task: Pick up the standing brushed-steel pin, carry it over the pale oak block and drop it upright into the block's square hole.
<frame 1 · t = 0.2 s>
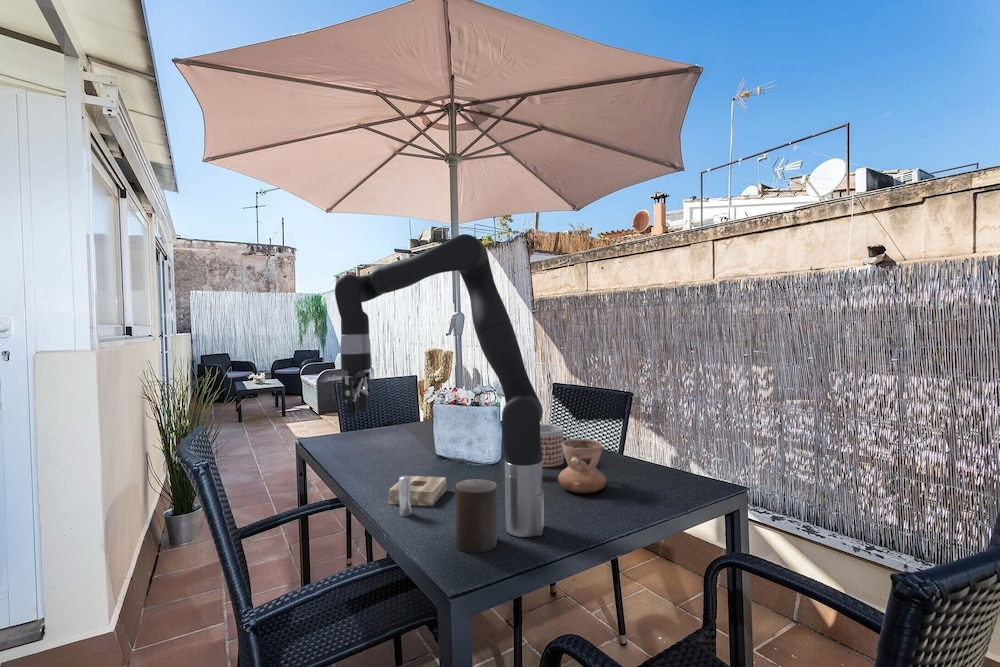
hand: (357, 413, 126), 28 cm above the table, fingers open, 8 cm apart
planter: (544, 463, 176), on the table
steel pin: (405, 514, 129), on the table
oak hole block: (418, 496, 142), on the table
terracotta incense burner: (582, 489, 147), on the table
pillar candle: (476, 544, 111), on the table
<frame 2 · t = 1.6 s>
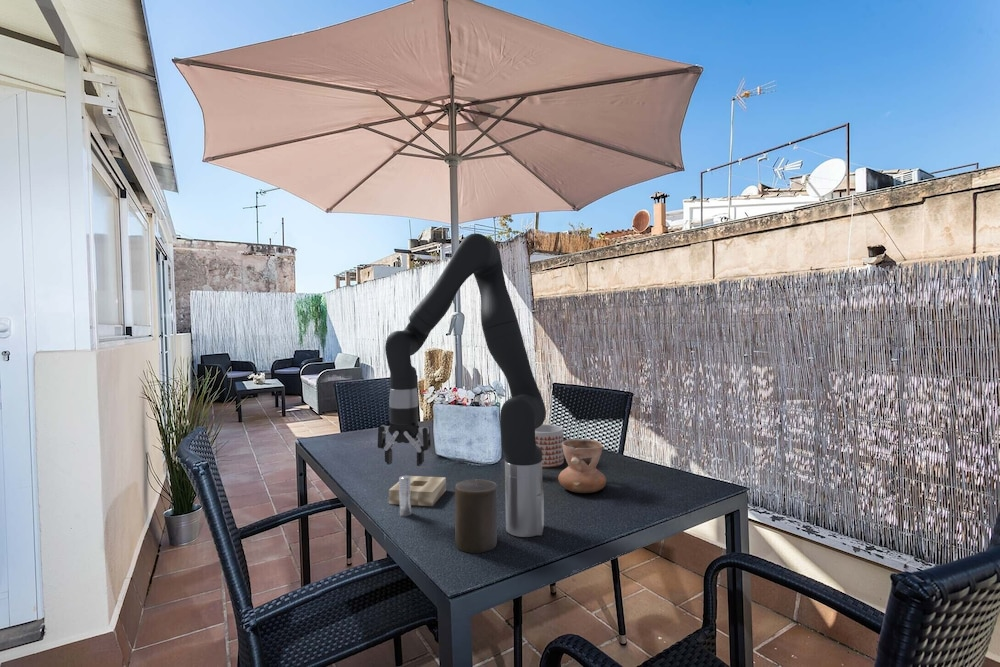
hand: (404, 464, 129), 13 cm above the table, fingers open, 8 cm apart
nothing on the table moved.
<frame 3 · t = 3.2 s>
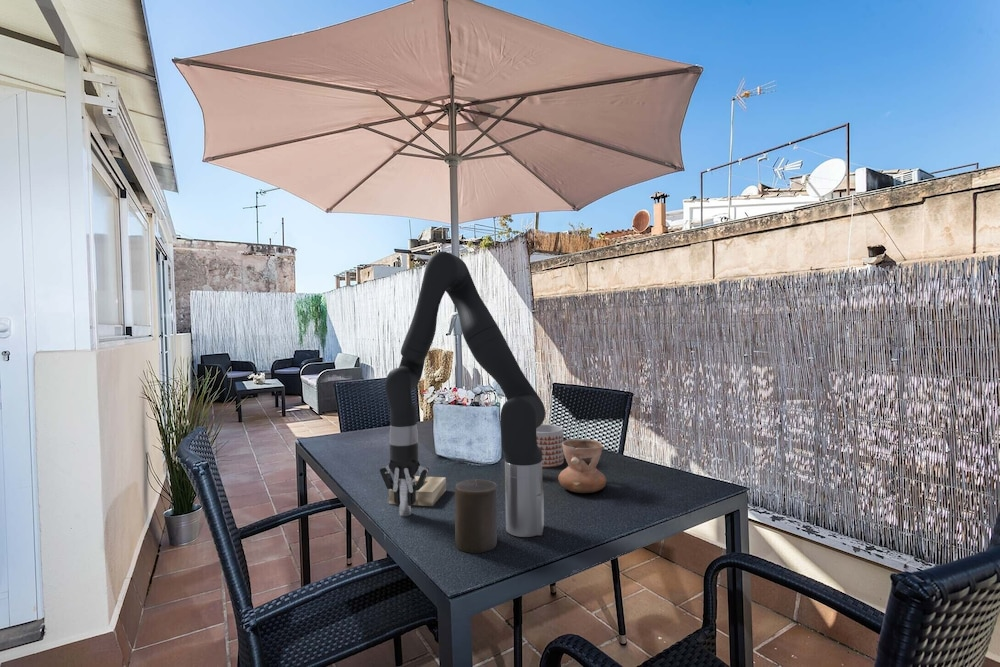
hand: (404, 504, 129), 3 cm above the table, fingers closed on steel pin, 3 cm apart
steel pin: (405, 514, 129), on the table, touching gripper
everything else where it was.
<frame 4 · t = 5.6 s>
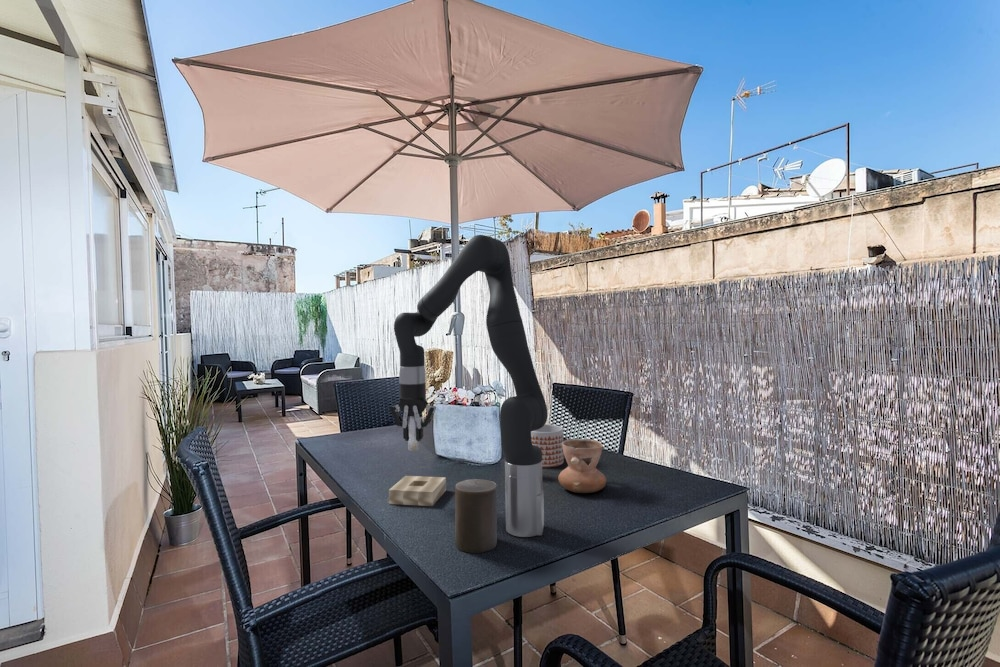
hand: (413, 440, 139), 17 cm above the table, fingers closed on steel pin, 3 cm apart
steel pin: (413, 449, 139), point 15 cm above the table, touching gripper
everything else where it was.
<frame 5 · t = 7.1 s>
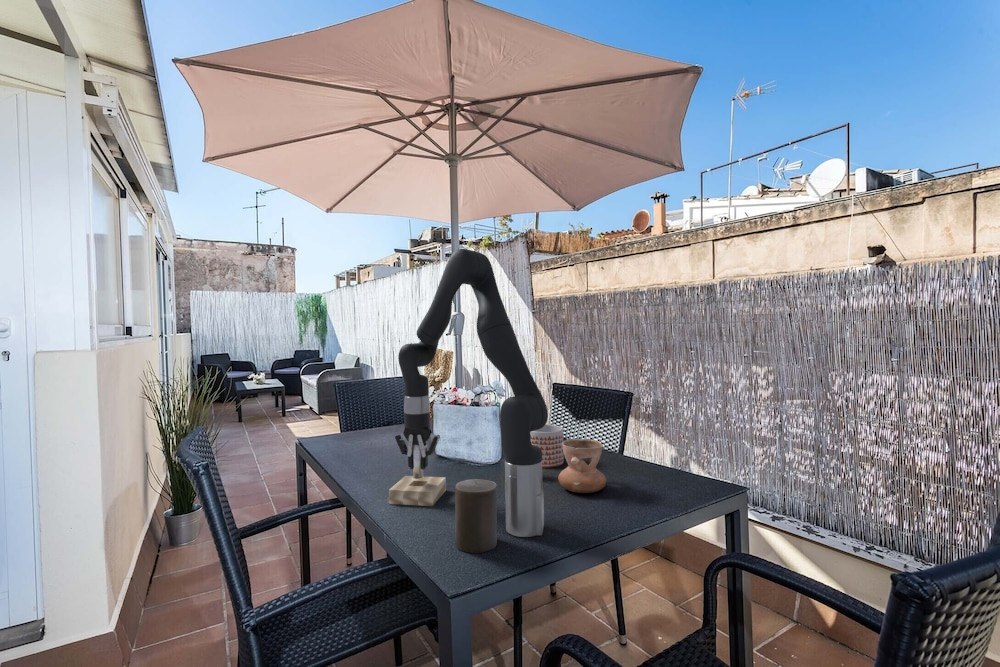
hand: (418, 468, 142), 8 cm above the table, fingers closed on steel pin, 3 cm apart
steel pin: (418, 477, 142), point 6 cm above the table, touching gripper
everything else where it was.
when the fingers open (5 cm above the table, at t = 8.1 s): steel pin drops 2 cm, resting in oak hole block.
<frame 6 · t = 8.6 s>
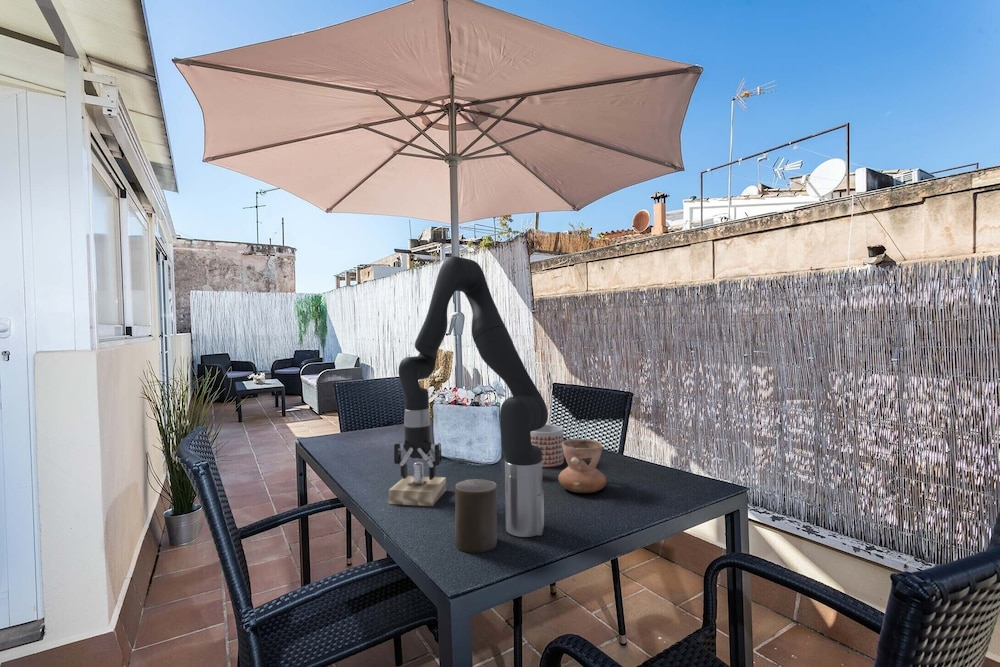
hand: (418, 478, 142), 6 cm above the table, fingers open, 8 cm apart
steel pin: (418, 496, 142), resting in oak hole block
everything else where it was.
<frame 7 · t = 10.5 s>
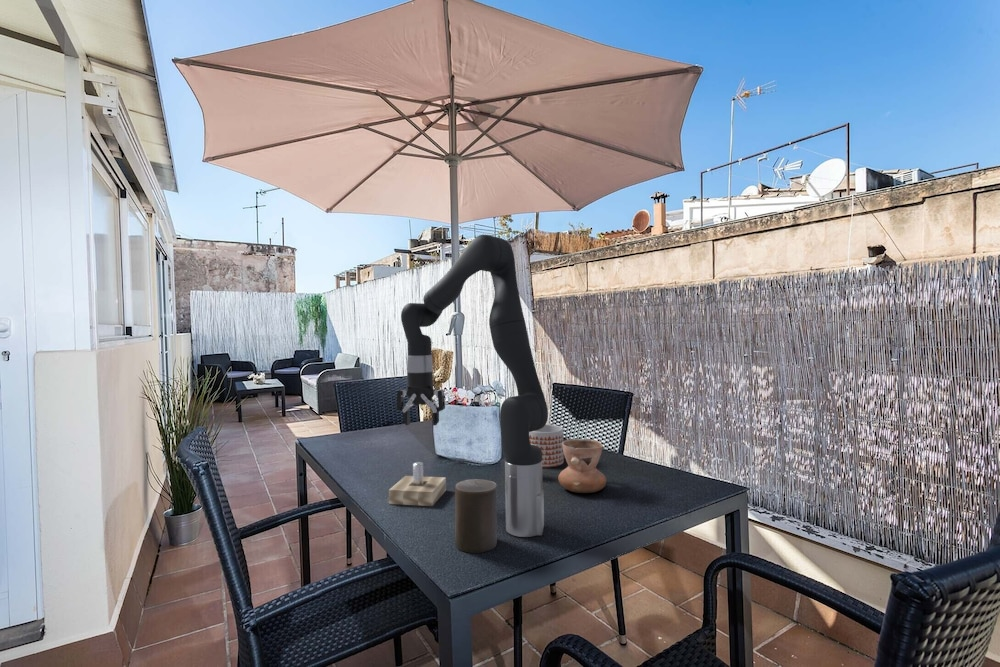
hand: (421, 424, 143), 21 cm above the table, fingers open, 8 cm apart
nothing on the table moved.
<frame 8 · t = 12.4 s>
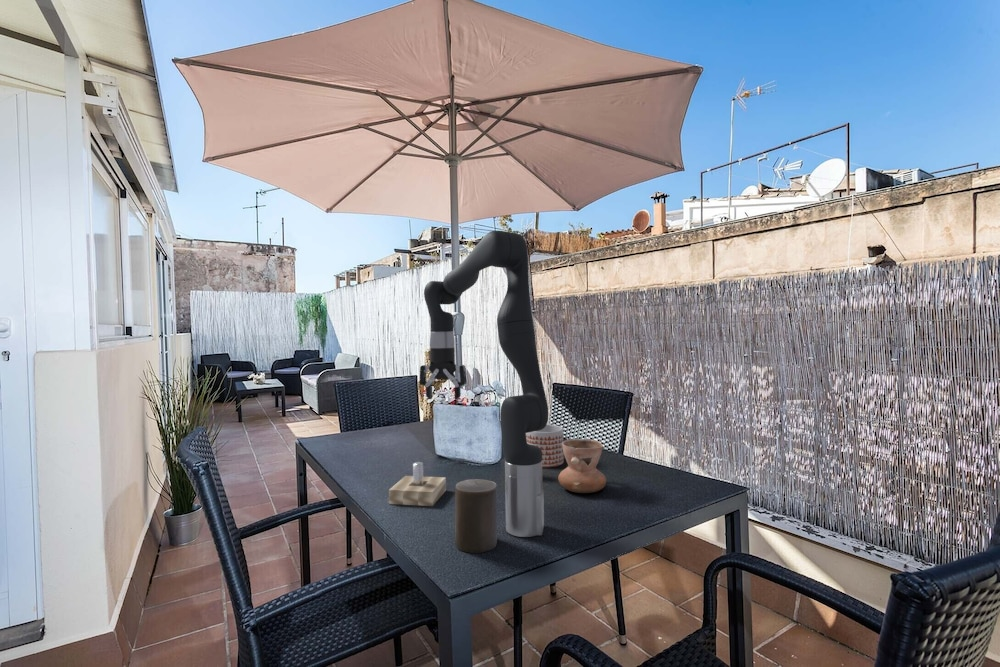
hand: (443, 399, 148), 28 cm above the table, fingers open, 8 cm apart
nothing on the table moved.
at the end: steel pin 0.0 cm off-centre on the oak hole block, point 0.0 cm above the oak hole block's base; steel pin tilted 0°; the gripper is holding nothing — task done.
